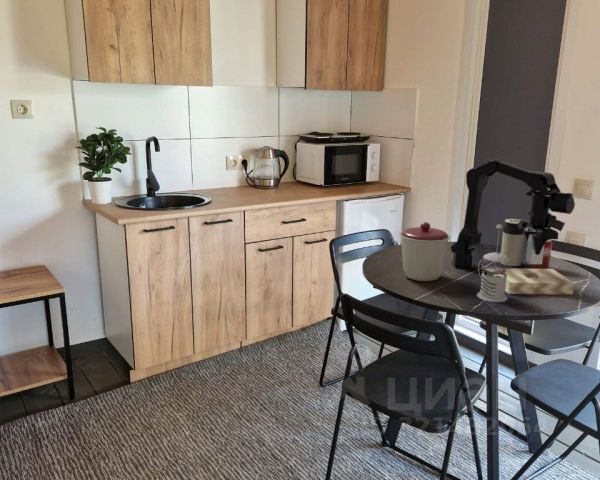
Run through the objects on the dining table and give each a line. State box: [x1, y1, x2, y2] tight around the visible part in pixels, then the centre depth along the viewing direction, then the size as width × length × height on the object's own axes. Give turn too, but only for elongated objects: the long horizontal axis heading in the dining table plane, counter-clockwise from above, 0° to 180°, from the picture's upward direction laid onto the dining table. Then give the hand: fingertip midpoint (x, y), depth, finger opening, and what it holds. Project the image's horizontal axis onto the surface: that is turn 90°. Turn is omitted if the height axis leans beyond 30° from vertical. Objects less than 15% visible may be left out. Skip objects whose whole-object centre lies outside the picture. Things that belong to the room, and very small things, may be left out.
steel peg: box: [525, 234, 544, 265], centre depth 181 cm, size 4×4×10 cm
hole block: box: [494, 268, 575, 295], centre depth 184 cm, size 22×16×4 cm
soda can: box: [528, 239, 553, 269], centre depth 203 cm, size 7×7×12 cm
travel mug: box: [500, 218, 525, 267], centre depth 208 cm, size 8×8×18 cm
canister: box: [399, 221, 451, 282], centre depth 191 cm, size 18×18×21 cm
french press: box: [476, 224, 509, 303], centre depth 172 cm, size 10×12×25 cm
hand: (534, 253), depth 182 cm, fingers closed on steel peg, 4 cm apart
